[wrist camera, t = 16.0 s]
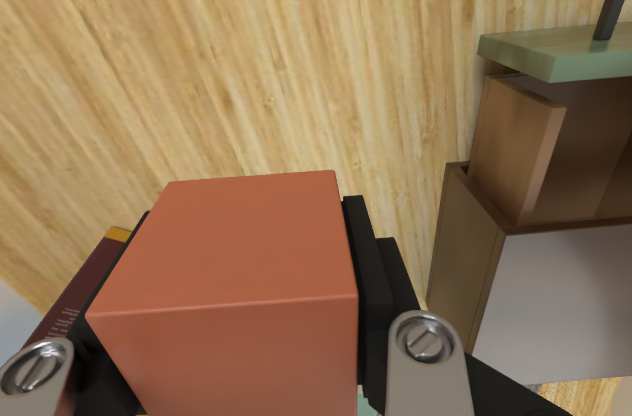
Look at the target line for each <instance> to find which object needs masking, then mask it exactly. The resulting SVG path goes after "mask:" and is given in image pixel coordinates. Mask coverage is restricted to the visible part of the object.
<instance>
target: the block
mask: <svg viewBox="0 0 632 416" xmlns="http://www.w3.org/2000/svg"><path fill="white" fill-rule="evenodd" d="M358 310H359V294H358V289H357V284H356V279H355V273H354V268H353V263H352V258H351V253H350V247H349V242H348V237H347V232H346V226H345V221H344V216H343V211H342V205H341V200H340V195H339V190H338V185H337V179H336V174H335V171H334V170H323V171H310V172H296V173H283V174H269V175H255V176H242V177H228V178H215V179H201V180H187V181H174V182H169V183H168V184H167V186H166V187H165V189H164V190H163V192H162V194H161V195H160V197H159V198H158V200H157V202H156V203H155V205H154V206H153V208H152V209H151V211H150V213H149V214H148V216H147V217H146V219H145V220H144V222H143V224H142V225H141V227H140V228H139V230H138V231H137V233H136V235H135V236H134V238H133V239H132V241H131V242H130V244H129V246H128V247H127V249H126V250H125V252H124V253H123V255H122V257H121V258H120V260H119V261H118V263H117V264H116V266H115V268H114V269H113V271H112V272H111V274H110V276H109V277H108V279H107V280H106V282H105V283H104V285H103V287H102V288H101V290H100V291H99V293H98V294H97V296H96V298H95V299H94V301H93V302H92V304H91V305H90V307H89V309H88V310H87V312H86V313H85V319H86V320H87V322H88V323H89V325H90V326H91V328H92V330H93V331H94V333H95V334H96V336H97V337H98V339H99V340H100V342H101V343H102V345H103V346H104V348H105V349H106V351H107V353H108V354H109V356H110V357H111V359H112V360H113V362H114V363H115V365H116V366H117V368H118V369H119V371H120V372H121V374H122V376H123V377H124V379H125V380H126V382H127V383H128V385H129V386H130V388H131V389H132V391H133V392H134V394H135V395H136V397H137V399H138V400H139V402H140V403H141V405H142V406H143V408H144V409H145V411H146V412H147V414H148V415H149V416H357V395H358Z"/></svg>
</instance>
